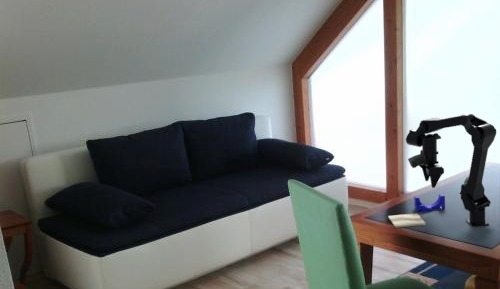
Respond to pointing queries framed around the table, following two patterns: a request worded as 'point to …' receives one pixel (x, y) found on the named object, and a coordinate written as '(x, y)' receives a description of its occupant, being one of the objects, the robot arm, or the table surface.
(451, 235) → the table surface
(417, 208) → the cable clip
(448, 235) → the table surface
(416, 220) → the pad
